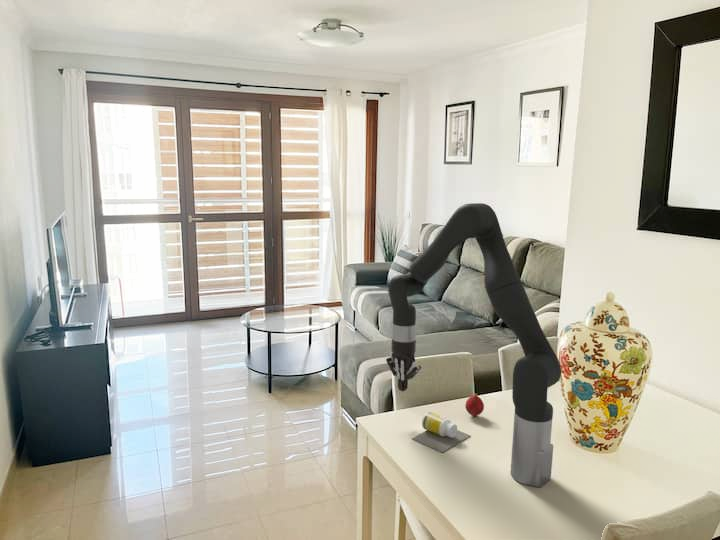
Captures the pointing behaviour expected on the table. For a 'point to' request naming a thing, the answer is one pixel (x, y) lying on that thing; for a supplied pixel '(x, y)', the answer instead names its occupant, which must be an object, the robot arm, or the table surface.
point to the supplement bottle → (439, 425)
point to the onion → (474, 405)
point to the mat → (440, 440)
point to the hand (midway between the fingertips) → (402, 390)
